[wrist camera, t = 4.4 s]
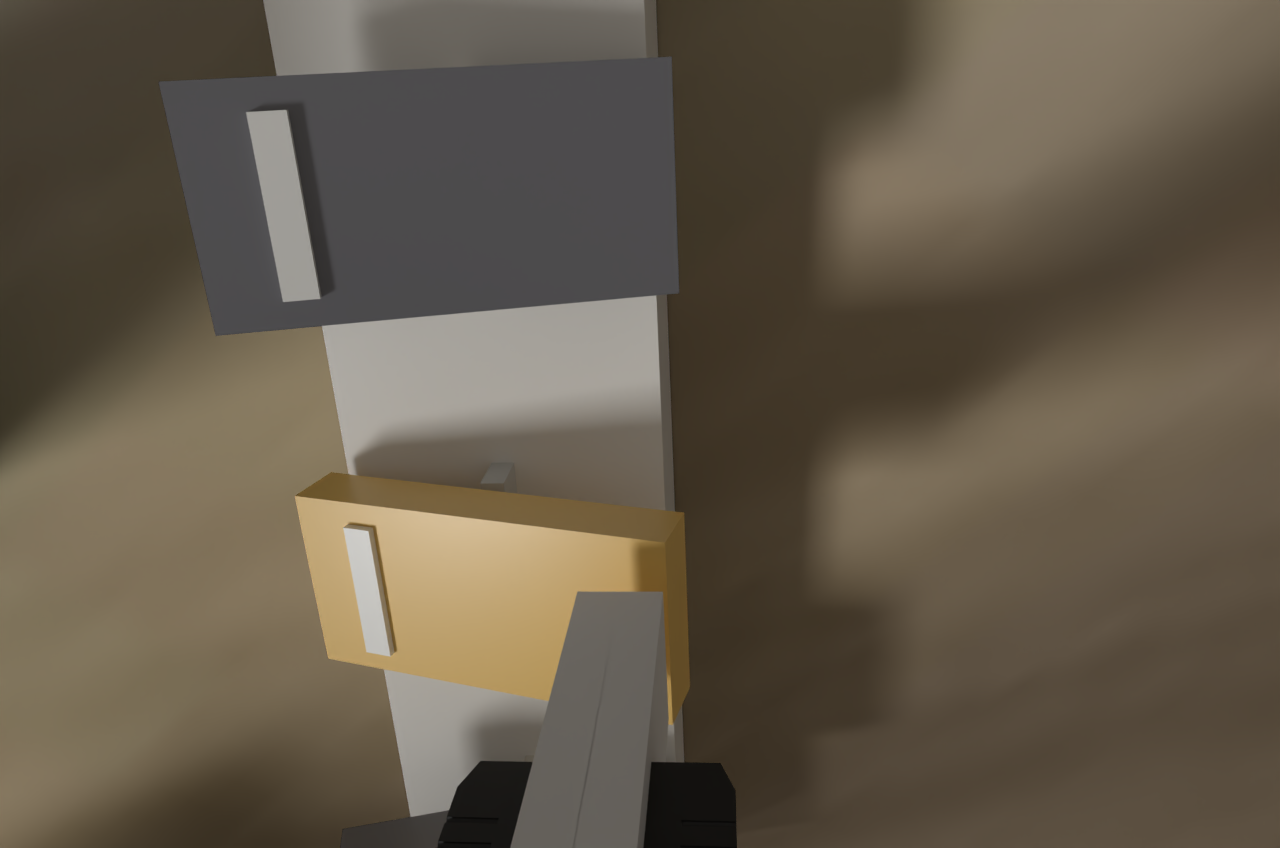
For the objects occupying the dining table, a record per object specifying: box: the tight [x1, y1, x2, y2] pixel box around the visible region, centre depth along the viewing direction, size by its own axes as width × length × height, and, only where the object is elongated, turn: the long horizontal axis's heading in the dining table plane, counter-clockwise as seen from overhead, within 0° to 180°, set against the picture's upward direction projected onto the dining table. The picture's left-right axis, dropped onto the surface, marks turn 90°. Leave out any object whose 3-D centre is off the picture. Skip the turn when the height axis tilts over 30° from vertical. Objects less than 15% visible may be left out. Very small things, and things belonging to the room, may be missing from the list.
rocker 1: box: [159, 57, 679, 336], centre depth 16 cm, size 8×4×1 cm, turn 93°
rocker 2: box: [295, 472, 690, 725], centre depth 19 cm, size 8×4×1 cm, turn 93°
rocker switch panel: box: [263, 0, 684, 817], centre depth 23 cm, size 7×34×5 cm, turn 3°
